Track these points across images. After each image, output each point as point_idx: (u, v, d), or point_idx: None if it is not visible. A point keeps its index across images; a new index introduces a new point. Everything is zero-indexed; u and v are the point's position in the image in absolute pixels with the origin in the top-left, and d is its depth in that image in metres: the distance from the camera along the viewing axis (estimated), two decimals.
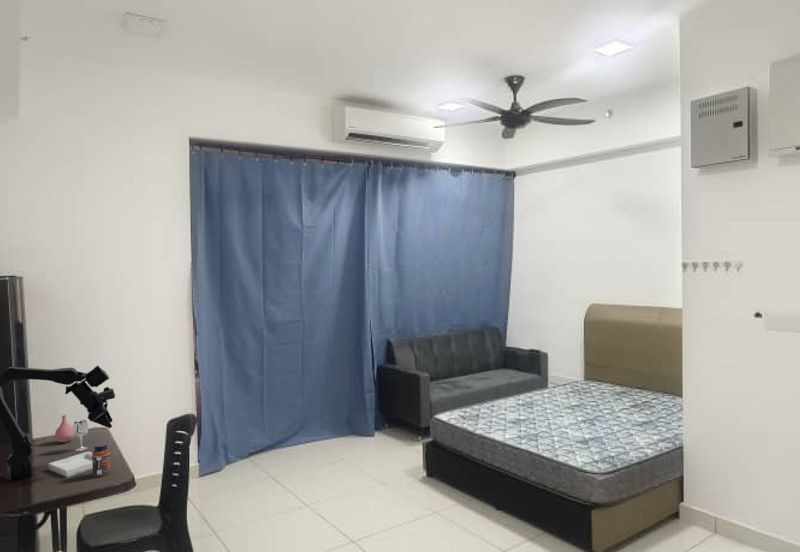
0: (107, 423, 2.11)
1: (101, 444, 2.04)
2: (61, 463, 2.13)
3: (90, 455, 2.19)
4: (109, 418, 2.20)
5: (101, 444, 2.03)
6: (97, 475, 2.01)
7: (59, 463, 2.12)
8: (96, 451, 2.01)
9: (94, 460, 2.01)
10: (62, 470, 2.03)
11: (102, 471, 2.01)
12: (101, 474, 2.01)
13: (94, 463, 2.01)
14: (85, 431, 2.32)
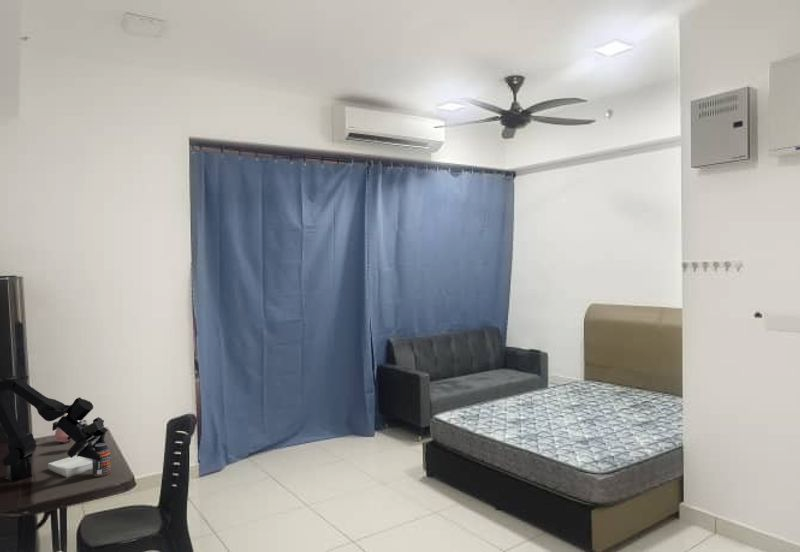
0: (94, 456, 1.99)
1: (101, 444, 2.04)
2: (61, 463, 2.13)
3: None
4: None
5: (101, 444, 2.03)
6: (97, 475, 2.01)
7: (59, 463, 2.12)
8: (96, 451, 2.01)
9: (94, 460, 2.01)
10: (62, 470, 2.03)
11: (102, 471, 2.01)
12: (101, 474, 2.01)
13: (94, 463, 2.01)
14: None
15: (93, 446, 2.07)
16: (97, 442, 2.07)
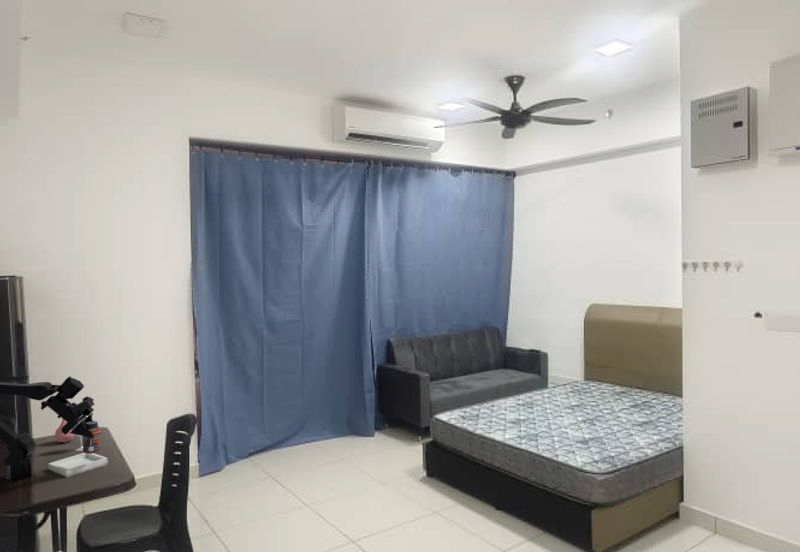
0: (87, 433, 2.04)
1: (91, 422, 2.08)
2: (61, 463, 2.13)
3: (90, 455, 2.19)
4: None
5: (92, 422, 2.08)
6: (89, 452, 2.05)
7: (59, 463, 2.12)
8: (88, 428, 2.06)
9: (86, 437, 2.05)
10: (62, 470, 2.03)
11: (94, 448, 2.06)
12: (93, 451, 2.06)
13: (86, 440, 2.05)
14: None
15: None
16: (85, 421, 2.11)
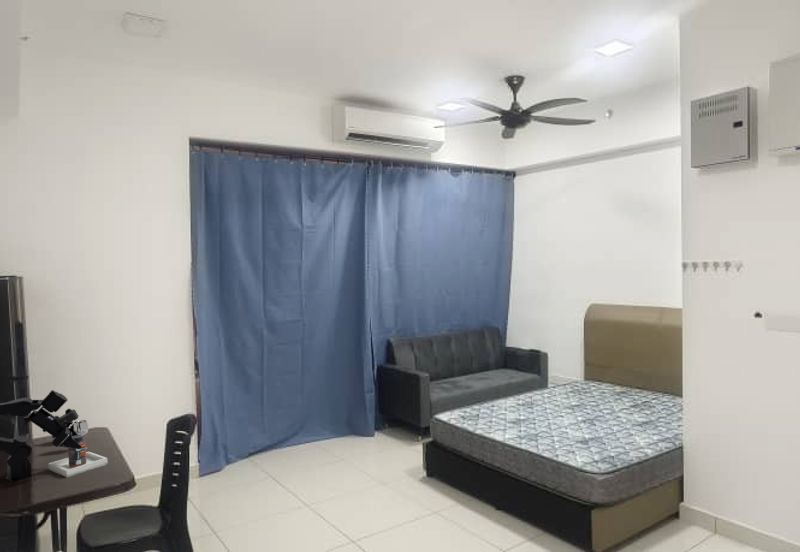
0: (75, 445, 2.07)
1: (76, 436, 2.12)
2: (61, 463, 2.13)
3: (90, 455, 2.19)
4: None
5: (77, 436, 2.12)
6: (76, 465, 2.09)
7: (59, 463, 2.12)
8: None
9: (73, 451, 2.09)
10: (62, 470, 2.03)
11: (81, 460, 2.10)
12: (80, 464, 2.10)
13: (73, 454, 2.09)
14: (85, 431, 2.32)
15: None
16: None
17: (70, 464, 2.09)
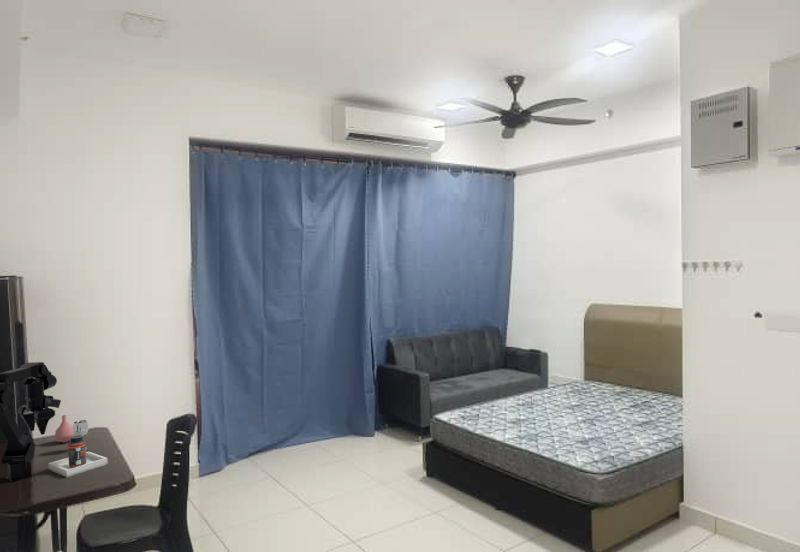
0: (43, 428, 2.12)
1: (76, 436, 2.12)
2: (61, 463, 2.13)
3: (90, 455, 2.19)
4: (32, 426, 2.18)
5: (77, 436, 2.12)
6: (76, 465, 2.09)
7: (59, 463, 2.12)
8: (74, 443, 2.09)
9: (73, 451, 2.09)
10: (62, 470, 2.03)
11: (81, 461, 2.10)
12: (80, 464, 2.10)
13: (73, 454, 2.09)
14: (85, 431, 2.32)
15: (25, 416, 2.16)
16: (31, 415, 2.18)
17: (70, 464, 2.09)
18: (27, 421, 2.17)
